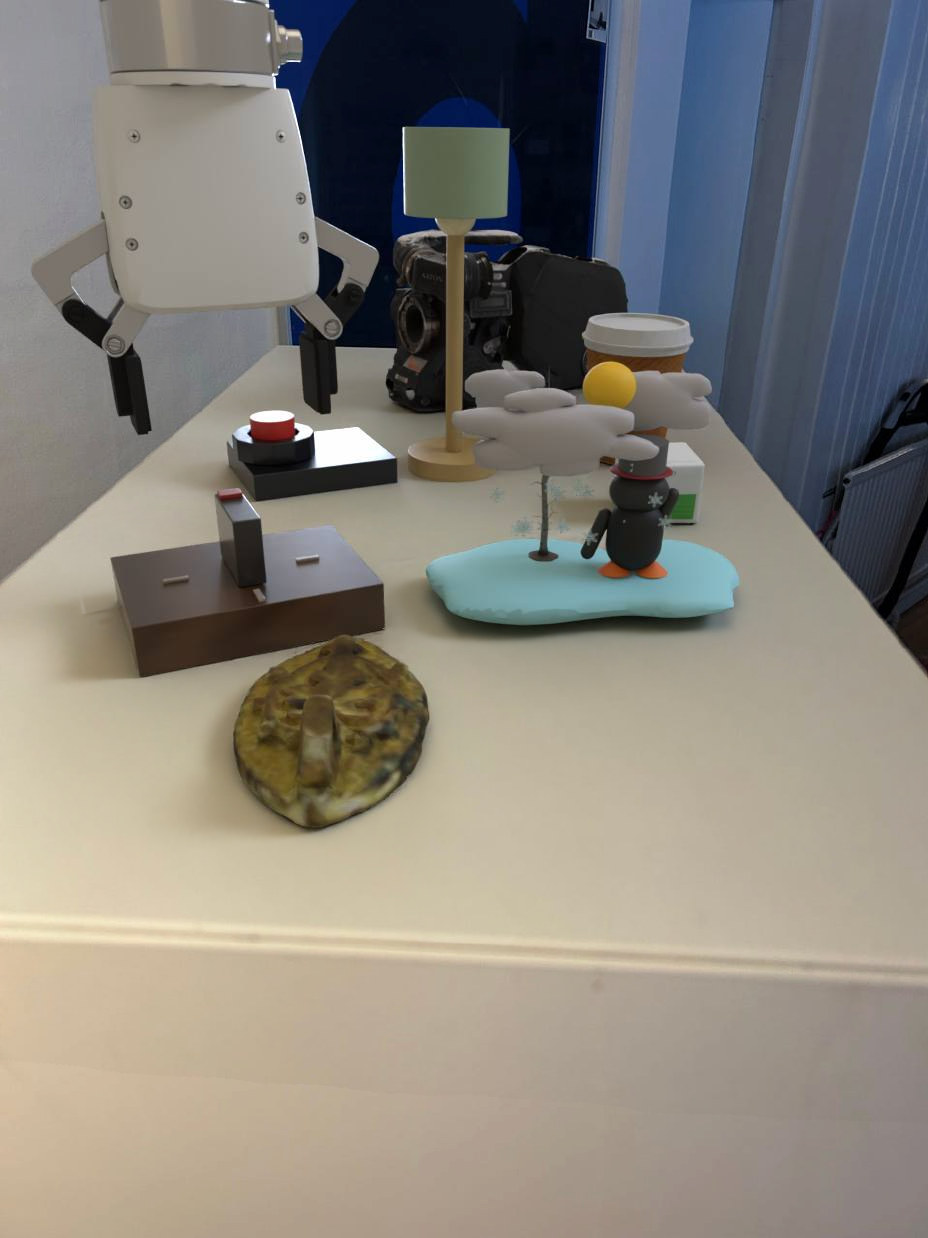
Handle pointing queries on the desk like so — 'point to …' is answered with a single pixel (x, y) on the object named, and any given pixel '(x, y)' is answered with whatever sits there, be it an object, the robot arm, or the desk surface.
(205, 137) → the robot arm
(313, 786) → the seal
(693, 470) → the small box
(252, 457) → the switch block
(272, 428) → the lamp switch
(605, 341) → the disposable coffee cup
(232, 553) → the dark grey block
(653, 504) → the penguin figurine
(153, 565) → the dimmer panel
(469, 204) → the desk lamp
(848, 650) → the desk surface
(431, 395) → the movie camera
